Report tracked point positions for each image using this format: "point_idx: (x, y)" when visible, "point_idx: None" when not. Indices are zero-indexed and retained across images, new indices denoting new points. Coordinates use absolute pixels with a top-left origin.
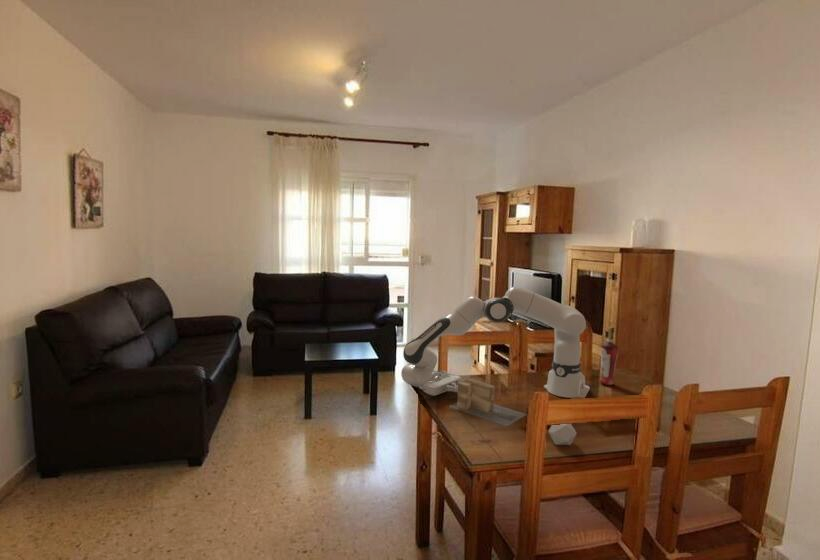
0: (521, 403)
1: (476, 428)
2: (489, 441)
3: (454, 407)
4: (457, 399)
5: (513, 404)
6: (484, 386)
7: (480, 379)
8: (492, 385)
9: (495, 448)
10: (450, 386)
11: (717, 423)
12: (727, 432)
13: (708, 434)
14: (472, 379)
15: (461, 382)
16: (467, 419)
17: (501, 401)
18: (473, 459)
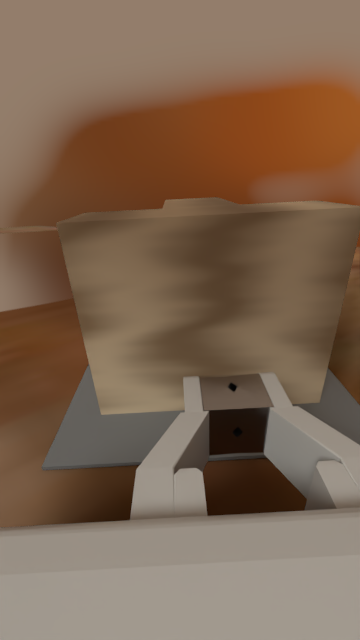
0: (30, 307)
1: (349, 290)
2: (352, 265)
3: (345, 407)
4: (330, 353)
5: (56, 313)
6: (214, 199)
7: (109, 212)
8: (166, 200)
9: (356, 257)
10: (317, 430)
11: (5, 231)
12: (33, 228)
13: (50, 229)
14: (156, 213)
15: (316, 208)
16: (344, 321)
17: (41, 338)
18: None
